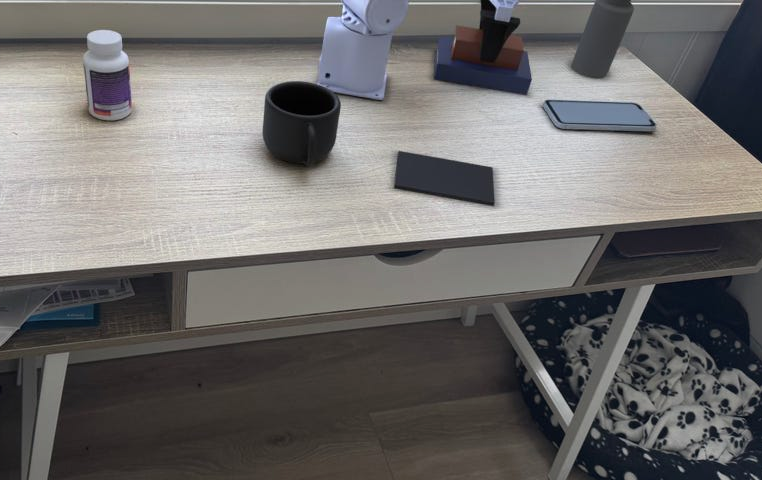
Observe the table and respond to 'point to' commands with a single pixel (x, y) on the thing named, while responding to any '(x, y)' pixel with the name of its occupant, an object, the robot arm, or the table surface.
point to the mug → (300, 121)
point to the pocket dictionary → (470, 44)
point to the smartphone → (599, 115)
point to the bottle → (602, 37)
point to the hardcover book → (480, 71)
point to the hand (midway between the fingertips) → (486, 50)
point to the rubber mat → (445, 178)
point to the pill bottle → (107, 76)
